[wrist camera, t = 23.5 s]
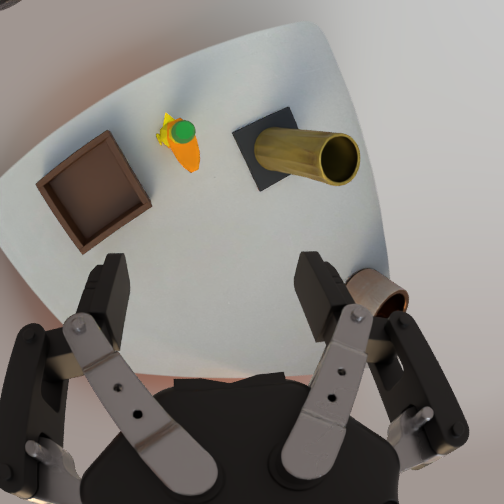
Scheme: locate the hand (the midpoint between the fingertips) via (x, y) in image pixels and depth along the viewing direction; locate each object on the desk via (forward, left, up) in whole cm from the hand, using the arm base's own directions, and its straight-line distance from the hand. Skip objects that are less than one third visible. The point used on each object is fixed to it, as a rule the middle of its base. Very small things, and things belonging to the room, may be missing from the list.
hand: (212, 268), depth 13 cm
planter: (+25, +35, -25) cm, 50 cm away
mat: (-3, +15, -25) cm, 30 cm away
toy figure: (-5, +2, -25) cm, 26 cm away
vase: (-3, +15, -25) cm, 29 cm away
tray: (0, -9, -25) cm, 27 cm away
